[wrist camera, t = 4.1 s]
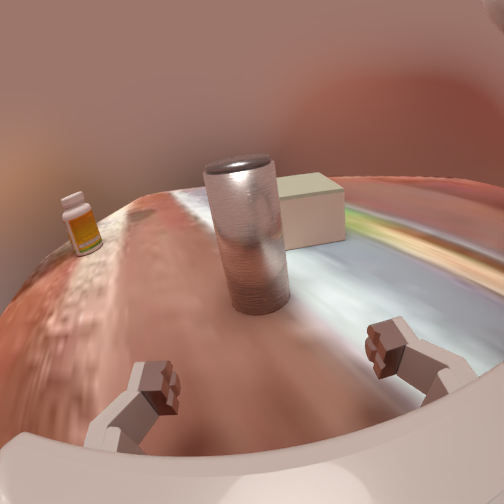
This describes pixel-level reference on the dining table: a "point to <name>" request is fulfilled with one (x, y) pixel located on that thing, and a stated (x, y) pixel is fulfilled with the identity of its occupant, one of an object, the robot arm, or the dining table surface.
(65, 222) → the supplement bottle
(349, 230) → the dining table surface
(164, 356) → the dining table surface
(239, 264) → the canister
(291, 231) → the beige block
